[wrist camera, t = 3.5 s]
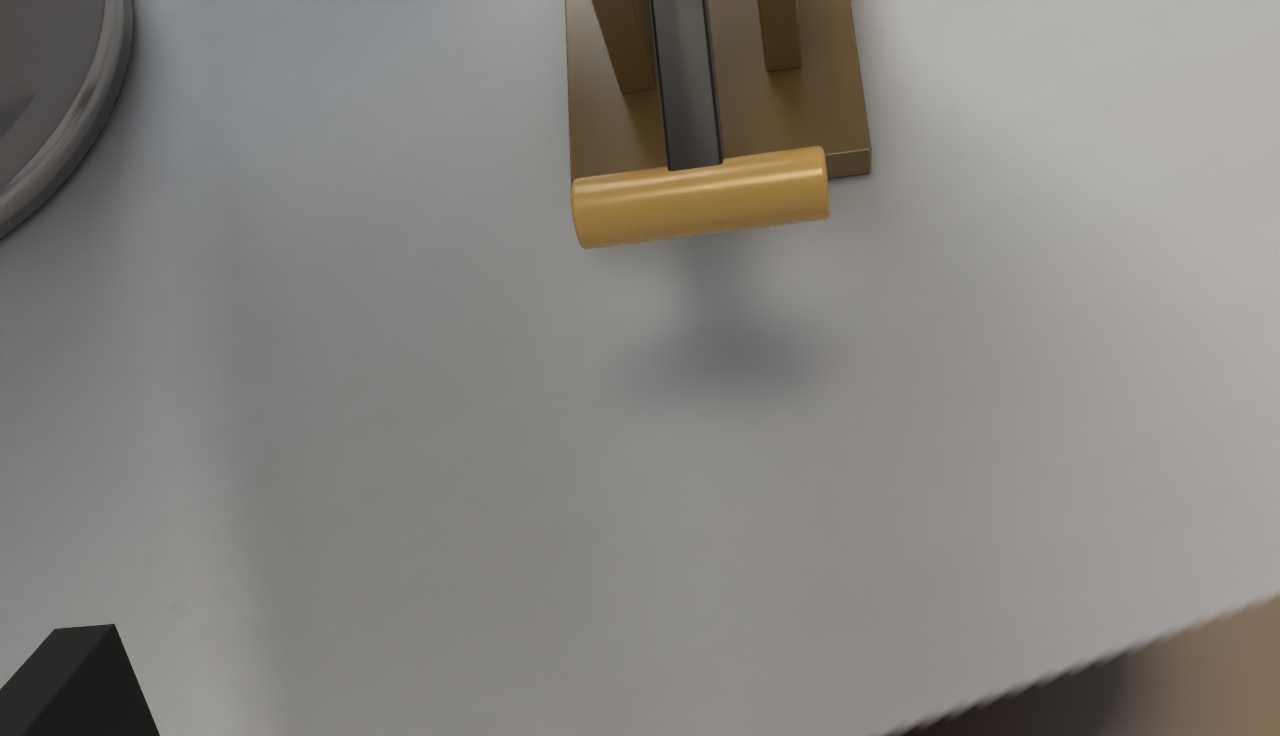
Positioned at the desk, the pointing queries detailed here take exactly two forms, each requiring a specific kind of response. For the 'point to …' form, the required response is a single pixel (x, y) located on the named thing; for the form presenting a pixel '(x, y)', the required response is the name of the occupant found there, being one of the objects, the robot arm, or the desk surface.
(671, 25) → the pivoting switch lever
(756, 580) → the desk surface
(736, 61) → the bracket
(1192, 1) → the desk surface
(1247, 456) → the desk surface
